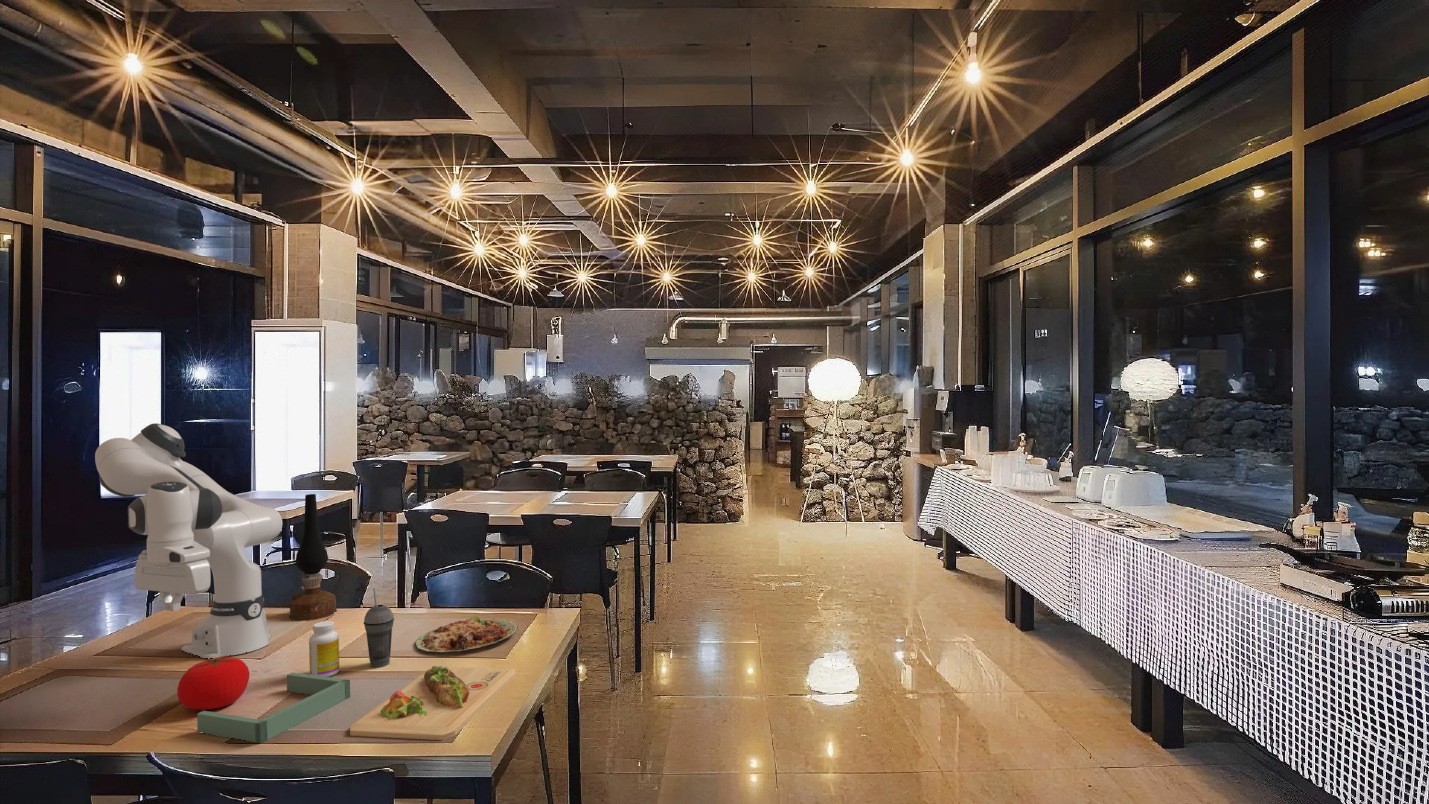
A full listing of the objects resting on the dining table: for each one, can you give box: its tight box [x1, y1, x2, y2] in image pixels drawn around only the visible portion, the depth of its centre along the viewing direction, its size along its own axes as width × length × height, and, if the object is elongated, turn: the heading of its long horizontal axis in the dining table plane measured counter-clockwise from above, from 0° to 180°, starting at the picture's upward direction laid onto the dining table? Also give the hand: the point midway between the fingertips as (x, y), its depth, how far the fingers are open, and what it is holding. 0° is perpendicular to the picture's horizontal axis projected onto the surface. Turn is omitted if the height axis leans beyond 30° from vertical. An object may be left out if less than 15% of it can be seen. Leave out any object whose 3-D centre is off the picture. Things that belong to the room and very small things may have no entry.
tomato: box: [176, 656, 251, 711], centre depth 163 cm, size 14×13×10 cm
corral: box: [196, 672, 351, 744], centre depth 157 cm, size 18×23×4 cm
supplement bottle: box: [308, 620, 340, 677], centre depth 180 cm, size 7×7×13 cm
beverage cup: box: [363, 588, 395, 669], centre depth 186 cm, size 7×7×20 cm
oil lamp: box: [288, 493, 338, 621], centre depth 233 cm, size 14×15×40 cm
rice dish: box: [414, 616, 518, 653], centre depth 205 cm, size 28×28×5 cm
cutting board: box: [349, 665, 517, 741], centre depth 163 cm, size 35×23×8 cm
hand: (172, 609), depth 167 cm, fingers closed
